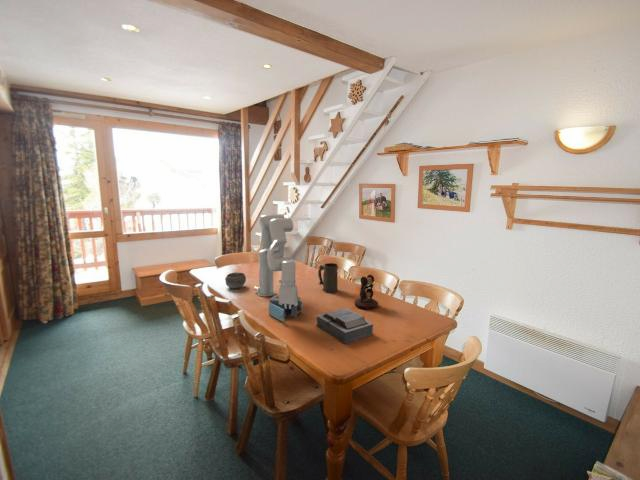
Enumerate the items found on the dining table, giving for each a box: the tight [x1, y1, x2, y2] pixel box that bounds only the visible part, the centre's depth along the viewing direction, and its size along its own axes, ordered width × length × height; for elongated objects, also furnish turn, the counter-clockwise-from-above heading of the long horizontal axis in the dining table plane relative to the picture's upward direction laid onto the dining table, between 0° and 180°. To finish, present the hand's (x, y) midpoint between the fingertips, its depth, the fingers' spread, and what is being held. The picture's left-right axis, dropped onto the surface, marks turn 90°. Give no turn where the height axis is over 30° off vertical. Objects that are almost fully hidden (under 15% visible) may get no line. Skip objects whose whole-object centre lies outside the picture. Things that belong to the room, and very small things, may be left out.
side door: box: [268, 302, 285, 323], centre depth 178 cm, size 14×2×7 cm, turn 43°
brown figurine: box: [354, 274, 379, 310], centre depth 200 cm, size 15×15×20 cm
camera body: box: [269, 294, 304, 318], centre depth 186 cm, size 18×9×10 cm, turn 80°
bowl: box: [224, 271, 247, 290], centre depth 230 cm, size 14×15×10 cm
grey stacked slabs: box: [316, 307, 374, 345], centre depth 166 cm, size 23×27×10 cm
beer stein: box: [317, 262, 339, 294], centre depth 228 cm, size 15×11×20 cm
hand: (288, 314), depth 173 cm, fingers closed
